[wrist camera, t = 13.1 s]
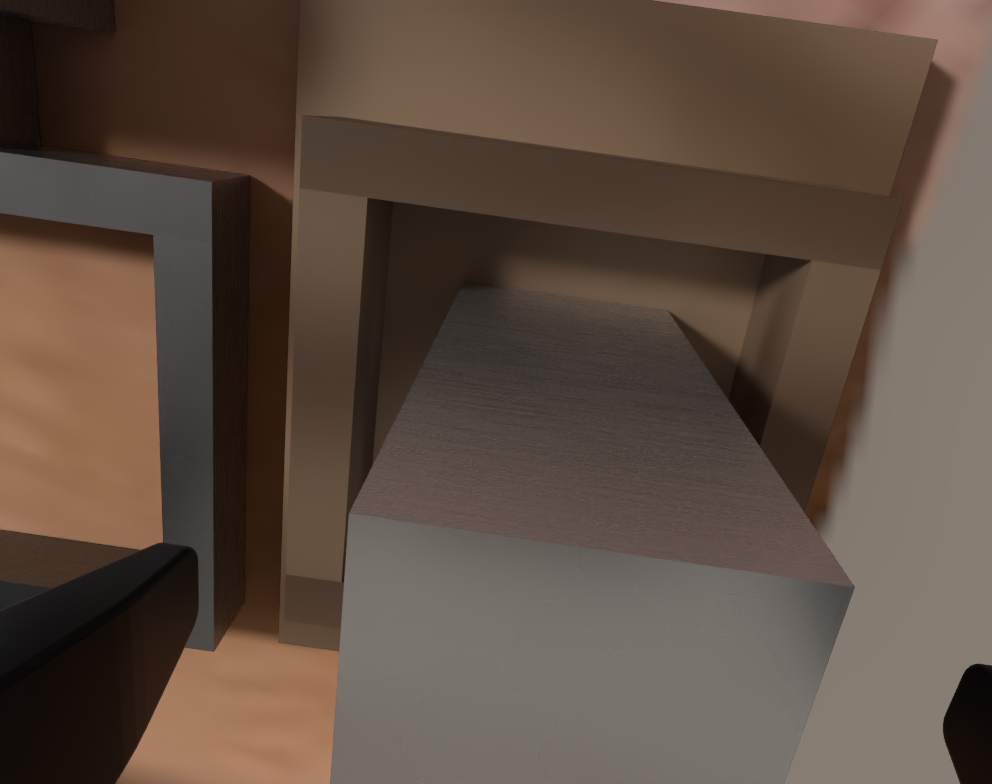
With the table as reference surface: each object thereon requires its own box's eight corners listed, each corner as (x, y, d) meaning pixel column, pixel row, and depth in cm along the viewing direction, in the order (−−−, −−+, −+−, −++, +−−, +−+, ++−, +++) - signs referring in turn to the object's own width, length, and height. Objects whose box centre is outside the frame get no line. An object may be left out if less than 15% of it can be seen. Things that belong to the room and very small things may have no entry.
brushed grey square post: (628, 491, 17) (730, 931, 8) (442, 464, 17) (323, 869, 8) (667, 310, 16) (854, 587, 6) (463, 280, 16) (349, 513, 6)
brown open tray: (721, 681, 20) (756, 790, 17) (290, 618, 20) (241, 714, 17) (912, 44, 15) (1020, 21, 11) (316, -38, 15) (251, -84, 11)
